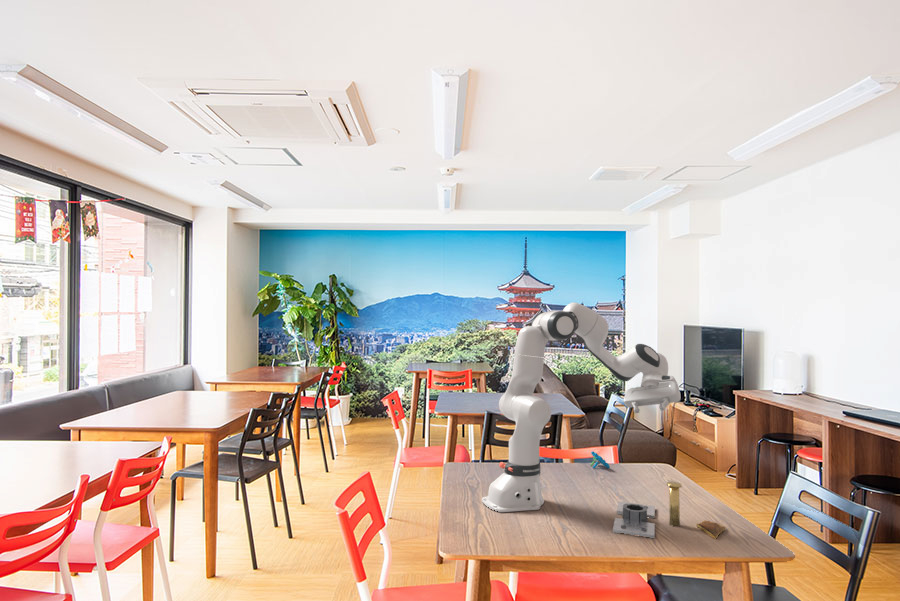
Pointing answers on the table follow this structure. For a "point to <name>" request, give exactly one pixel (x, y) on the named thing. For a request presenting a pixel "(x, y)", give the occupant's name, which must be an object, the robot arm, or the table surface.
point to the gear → (598, 460)
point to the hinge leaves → (635, 519)
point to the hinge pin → (674, 503)
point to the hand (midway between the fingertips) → (649, 410)
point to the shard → (711, 528)
